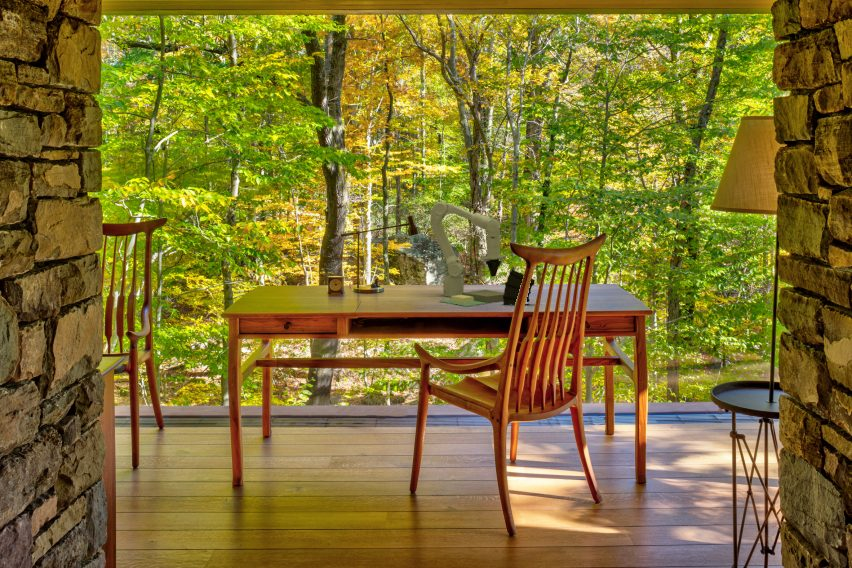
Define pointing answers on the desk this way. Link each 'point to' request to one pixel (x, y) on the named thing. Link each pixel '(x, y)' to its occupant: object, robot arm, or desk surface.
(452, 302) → the mat
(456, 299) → the tile
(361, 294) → the desk surface
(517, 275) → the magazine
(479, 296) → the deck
